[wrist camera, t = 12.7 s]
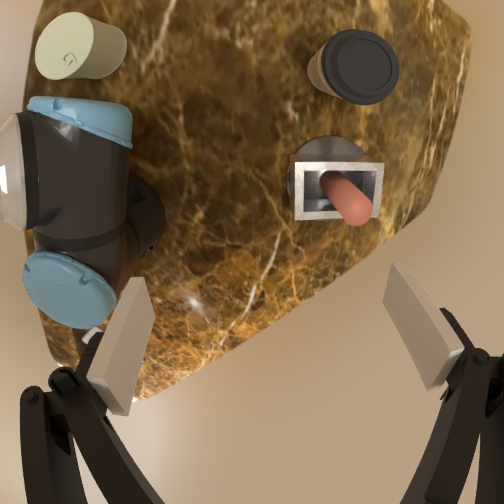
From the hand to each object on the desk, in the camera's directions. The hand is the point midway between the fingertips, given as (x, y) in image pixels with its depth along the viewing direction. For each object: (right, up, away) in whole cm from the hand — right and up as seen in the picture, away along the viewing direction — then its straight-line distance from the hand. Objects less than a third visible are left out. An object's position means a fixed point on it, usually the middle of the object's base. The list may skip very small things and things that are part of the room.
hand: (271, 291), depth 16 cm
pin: (+11, +13, +30) cm, 34 cm away
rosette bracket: (+11, +14, +30) cm, 35 cm away
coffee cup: (+10, +28, +22) cm, 37 cm away
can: (-24, +32, +18) cm, 44 cm away
